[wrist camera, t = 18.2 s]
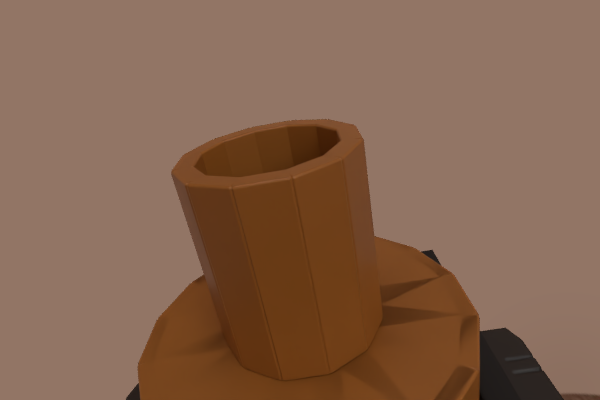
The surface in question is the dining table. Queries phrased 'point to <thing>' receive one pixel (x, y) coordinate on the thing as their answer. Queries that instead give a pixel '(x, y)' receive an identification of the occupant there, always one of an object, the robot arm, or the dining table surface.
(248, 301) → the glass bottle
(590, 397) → the dining table surface
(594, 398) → the dining table surface
